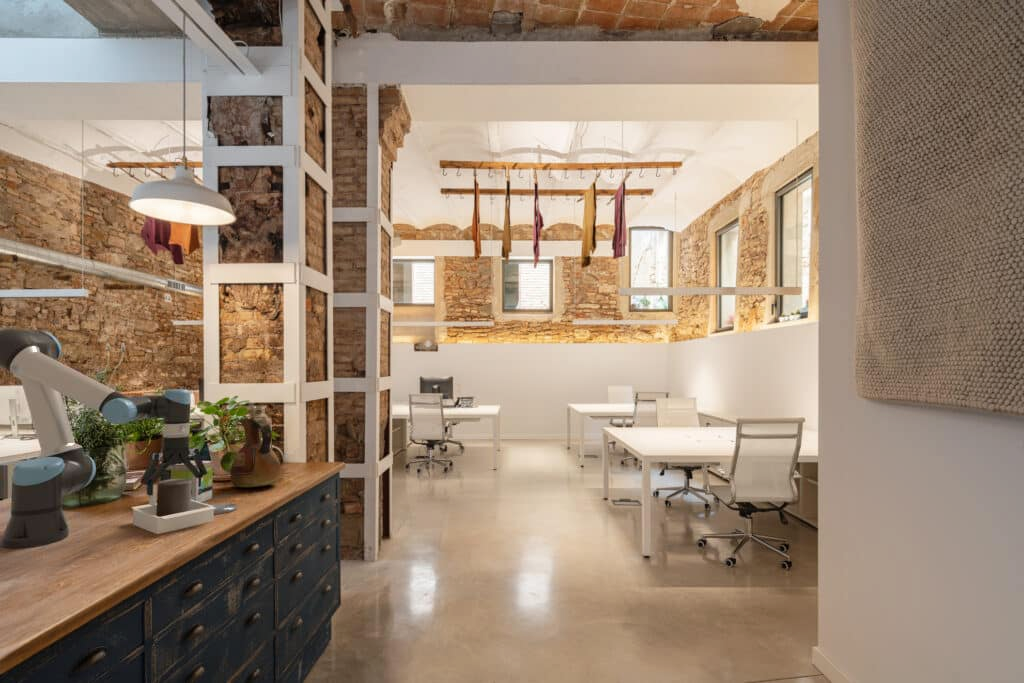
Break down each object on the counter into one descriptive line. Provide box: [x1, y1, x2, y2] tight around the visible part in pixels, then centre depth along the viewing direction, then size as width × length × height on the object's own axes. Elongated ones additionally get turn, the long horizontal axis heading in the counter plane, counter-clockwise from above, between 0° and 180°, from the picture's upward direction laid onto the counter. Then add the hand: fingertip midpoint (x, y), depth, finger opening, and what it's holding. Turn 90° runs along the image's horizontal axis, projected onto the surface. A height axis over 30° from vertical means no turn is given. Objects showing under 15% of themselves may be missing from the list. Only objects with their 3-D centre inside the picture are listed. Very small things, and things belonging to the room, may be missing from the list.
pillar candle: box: [156, 477, 192, 517], centre depth 184 cm, size 10×10×15 cm
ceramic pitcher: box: [229, 416, 282, 488], centre depth 238 cm, size 20×20×30 cm
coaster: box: [210, 502, 238, 516], centre depth 200 cm, size 12×12×1 cm
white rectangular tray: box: [130, 500, 217, 535], centre depth 184 cm, size 17×23×5 cm
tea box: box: [159, 460, 214, 503], centre depth 213 cm, size 15×10×15 cm, turn 84°
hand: (174, 501), depth 184 cm, fingers open, 12 cm apart
